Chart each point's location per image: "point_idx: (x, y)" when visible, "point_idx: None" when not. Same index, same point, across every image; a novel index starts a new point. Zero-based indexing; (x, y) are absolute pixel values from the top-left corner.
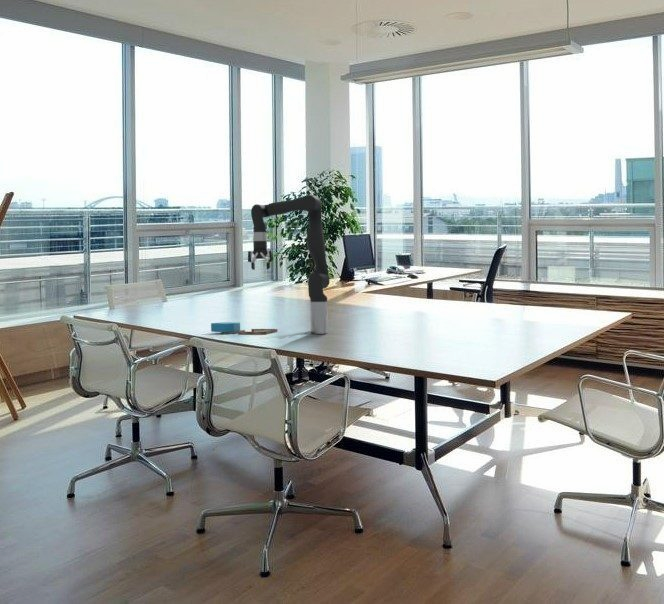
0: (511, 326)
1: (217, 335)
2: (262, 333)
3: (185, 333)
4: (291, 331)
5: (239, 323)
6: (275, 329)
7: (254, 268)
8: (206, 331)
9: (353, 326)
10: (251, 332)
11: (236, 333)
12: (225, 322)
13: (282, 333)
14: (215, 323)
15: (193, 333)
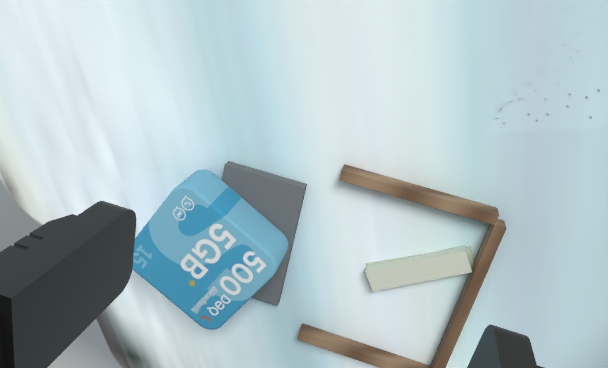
0: None
1: (214, 343)
2: None
3: (31, 196)
4: (601, 209)
5: (275, 272)
6: (493, 255)
7: (118, 235)
8: (79, 86)
9: None
10: (364, 359)
11: (282, 288)
12: (185, 222)
13: (531, 330)
14: (155, 285)
15: (67, 206)
